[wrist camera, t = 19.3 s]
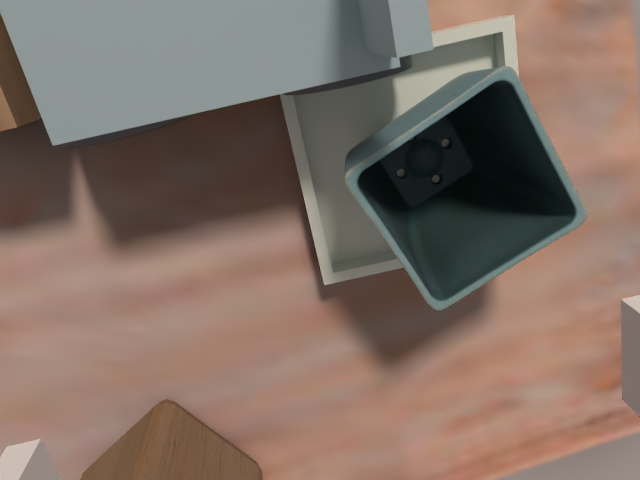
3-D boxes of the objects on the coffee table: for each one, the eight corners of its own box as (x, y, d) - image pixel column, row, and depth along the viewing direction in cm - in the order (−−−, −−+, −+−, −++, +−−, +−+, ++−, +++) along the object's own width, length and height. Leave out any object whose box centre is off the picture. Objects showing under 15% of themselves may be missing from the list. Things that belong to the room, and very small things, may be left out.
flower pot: (518, 174, 35) (594, 220, 26) (399, 250, 36) (436, 316, 28) (451, 52, 32) (511, 60, 23) (324, 139, 33) (339, 177, 25)
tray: (321, 271, 37) (324, 285, 35) (274, 67, 32) (273, 69, 30) (517, 227, 37) (531, 239, 35) (499, 16, 32) (513, 15, 30)
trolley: (86, 131, 33) (-66, 210, 19) (25, -33, 30) (-216, -92, 15) (398, 60, 33) (490, 85, 18) (371, -113, 29) (457, -250, 15)
